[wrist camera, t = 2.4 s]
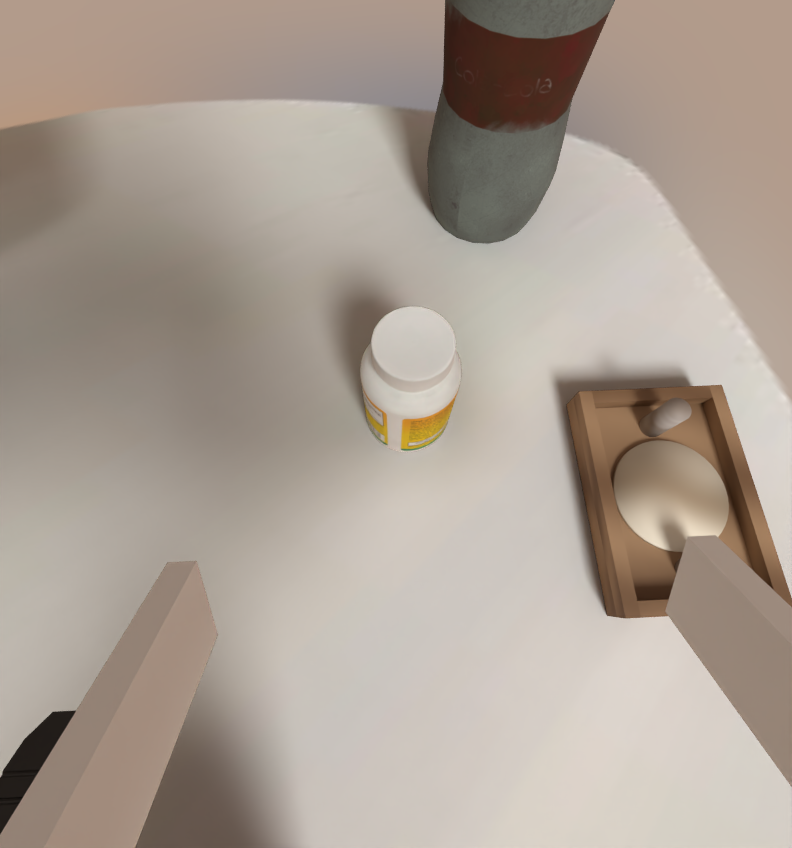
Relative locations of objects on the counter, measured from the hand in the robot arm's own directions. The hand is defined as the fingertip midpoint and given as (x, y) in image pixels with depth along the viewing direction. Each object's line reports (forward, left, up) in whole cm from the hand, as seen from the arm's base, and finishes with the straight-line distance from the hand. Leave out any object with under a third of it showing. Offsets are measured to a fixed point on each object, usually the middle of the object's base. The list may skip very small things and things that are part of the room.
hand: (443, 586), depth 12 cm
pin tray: (+4, +15, -15) cm, 21 cm away
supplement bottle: (-9, +5, -15) cm, 18 cm away
